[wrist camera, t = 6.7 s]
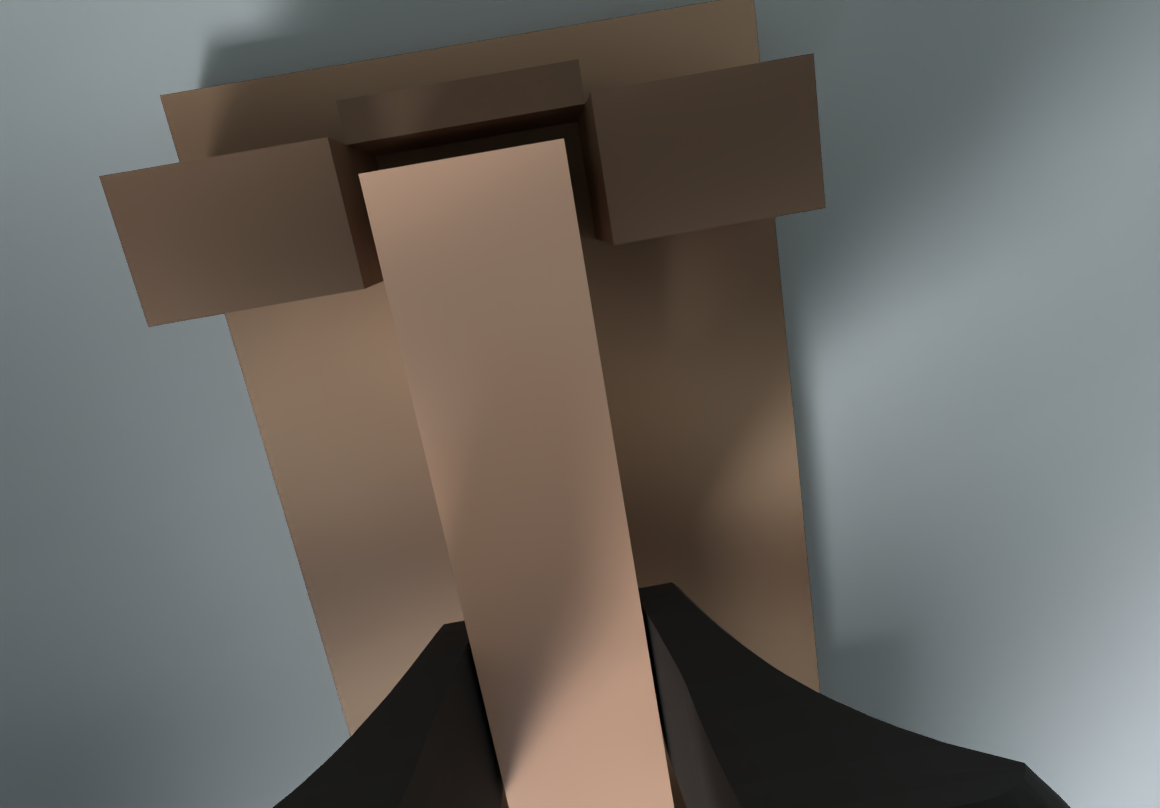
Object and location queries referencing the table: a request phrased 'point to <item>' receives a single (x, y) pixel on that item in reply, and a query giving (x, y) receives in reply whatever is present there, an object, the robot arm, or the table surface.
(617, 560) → the clay strip
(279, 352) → the strip rack
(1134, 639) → the table surface
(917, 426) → the table surface
